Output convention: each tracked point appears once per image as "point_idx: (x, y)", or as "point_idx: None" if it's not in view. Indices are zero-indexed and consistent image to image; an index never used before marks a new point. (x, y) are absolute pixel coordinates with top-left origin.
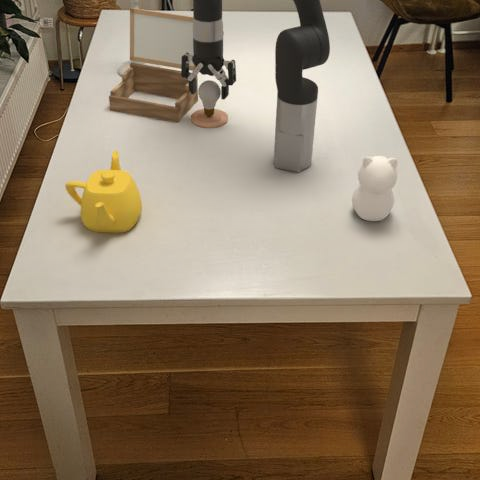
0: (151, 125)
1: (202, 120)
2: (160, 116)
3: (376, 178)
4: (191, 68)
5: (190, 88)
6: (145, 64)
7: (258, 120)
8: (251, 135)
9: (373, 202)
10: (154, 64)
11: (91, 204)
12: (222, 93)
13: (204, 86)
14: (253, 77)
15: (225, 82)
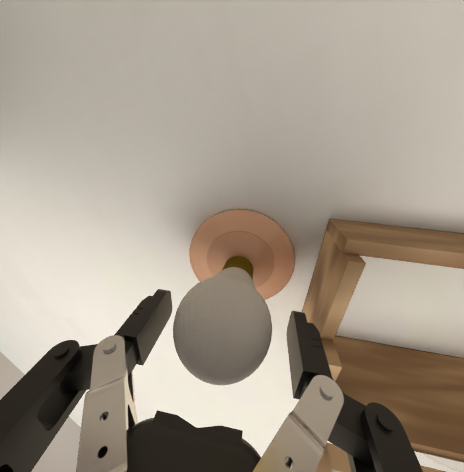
0: (429, 176)
1: (251, 237)
2: (401, 230)
3: None
4: (338, 456)
5: (311, 336)
6: None
7: (130, 274)
8: (107, 201)
9: None
10: (438, 457)
11: None
12: (150, 307)
13: (228, 338)
14: (211, 410)
15: (93, 359)
